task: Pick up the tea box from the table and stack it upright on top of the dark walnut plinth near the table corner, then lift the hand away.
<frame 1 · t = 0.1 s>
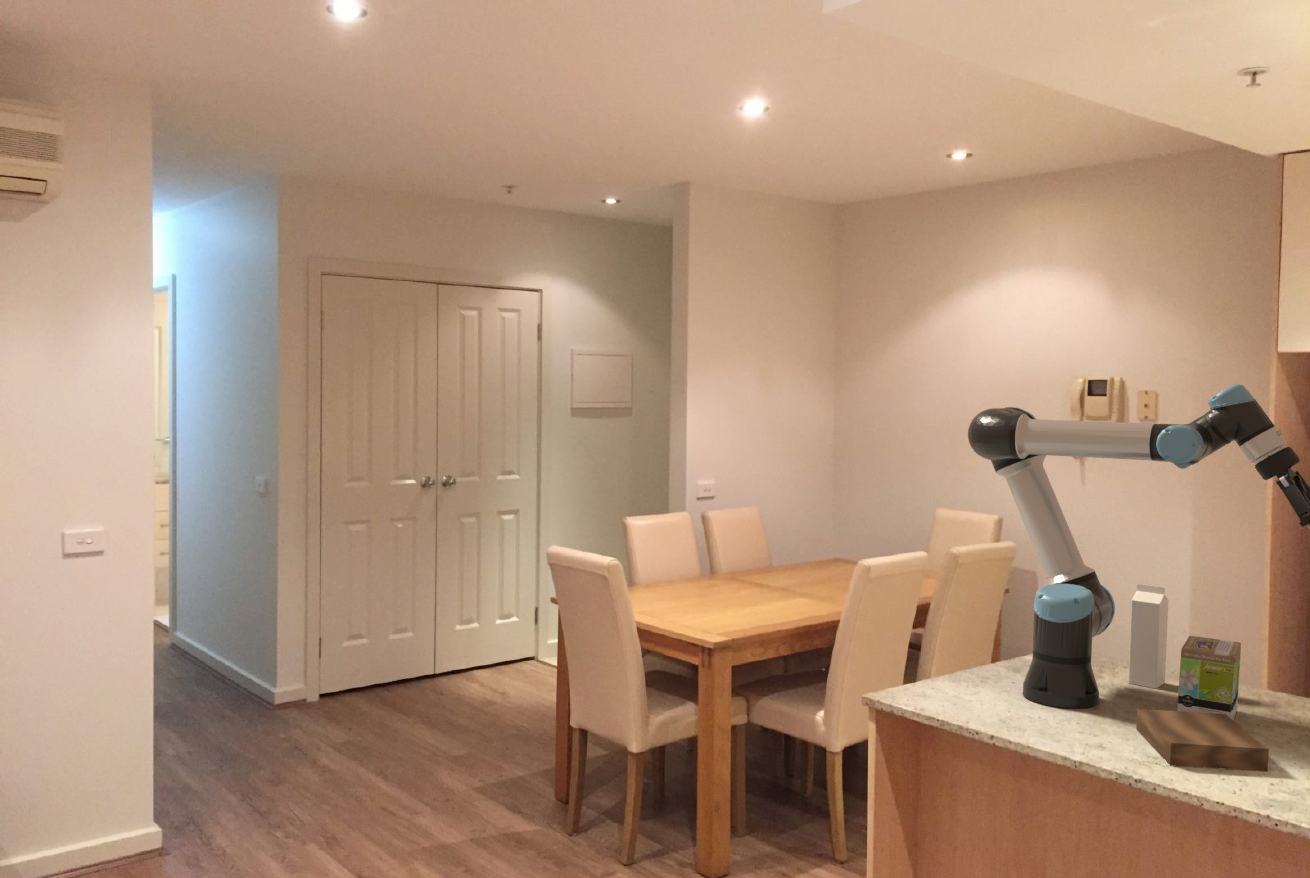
milk: (1146, 684, 242), on the countertop
walnut plinth: (1198, 749, 199), on the countertop
tea box: (1207, 717, 219), on the countertop
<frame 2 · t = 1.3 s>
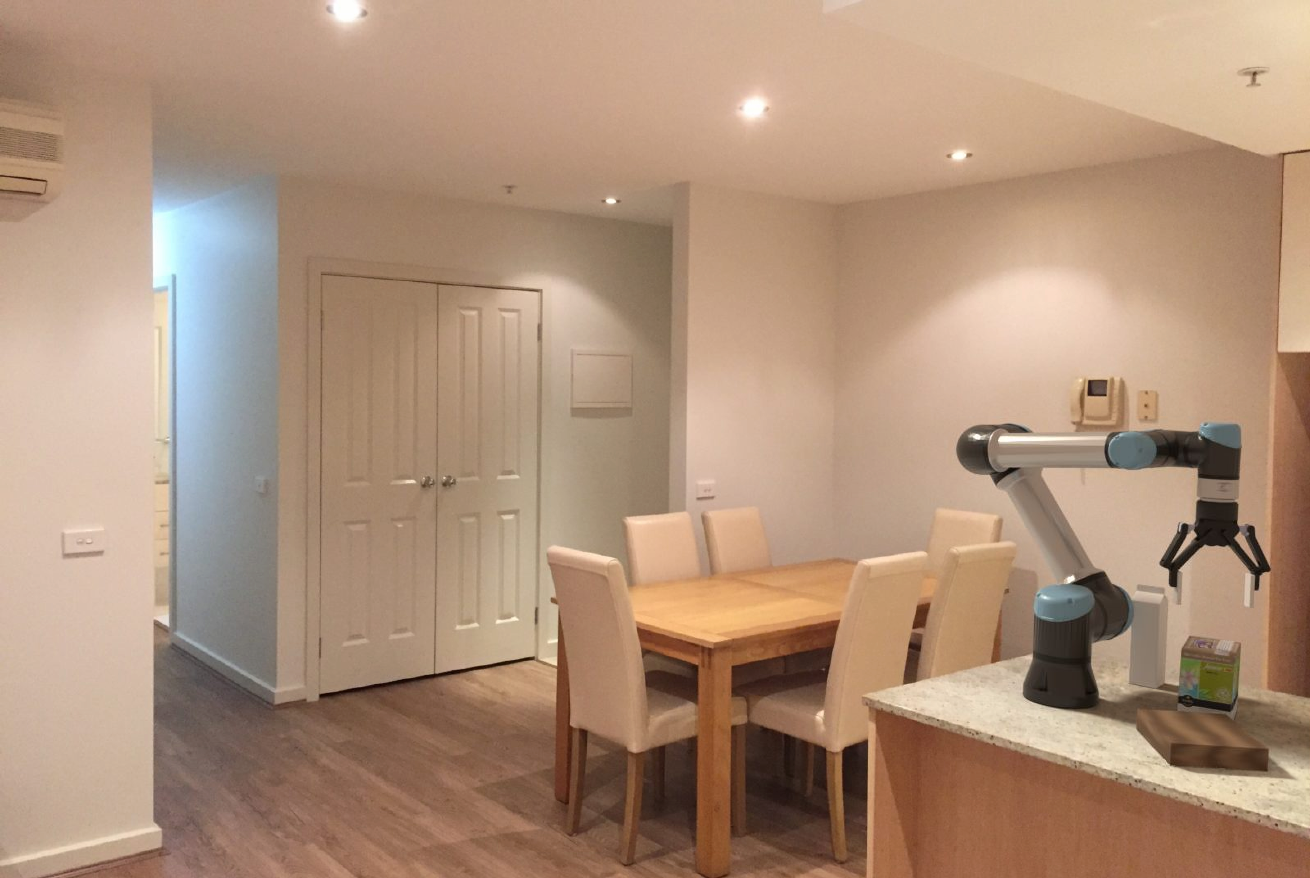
hand: (1212, 605, 218), 23 cm above the countertop, tool pointing down, fingers open, 13 cm apart
nothing on the countertop moved.
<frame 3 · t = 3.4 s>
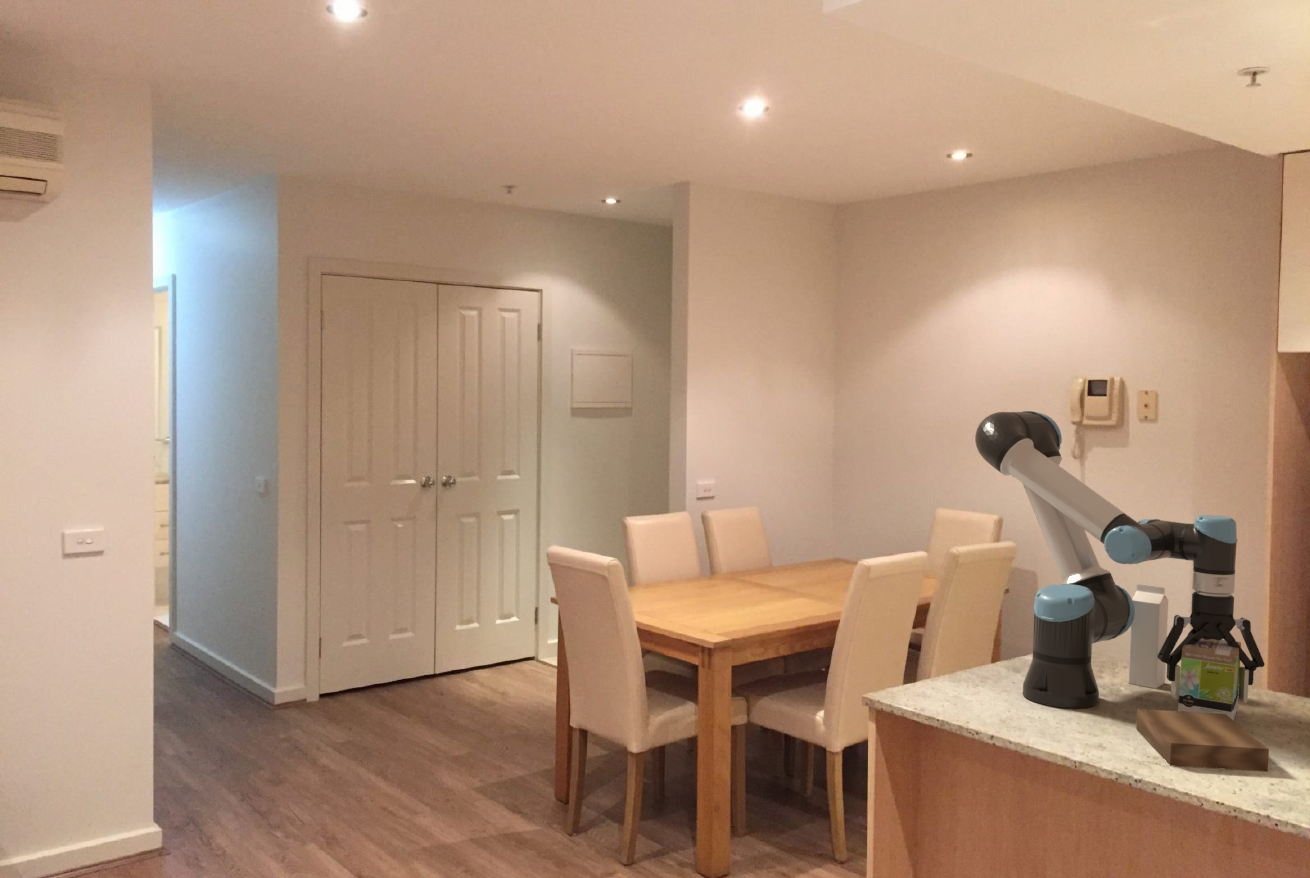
hand: (1208, 698, 219), 4 cm above the countertop, tool pointing down, fingers closed on tea box, 12 cm apart
tea box: (1207, 717, 219), on the countertop, touching gripper
everything else where it was.
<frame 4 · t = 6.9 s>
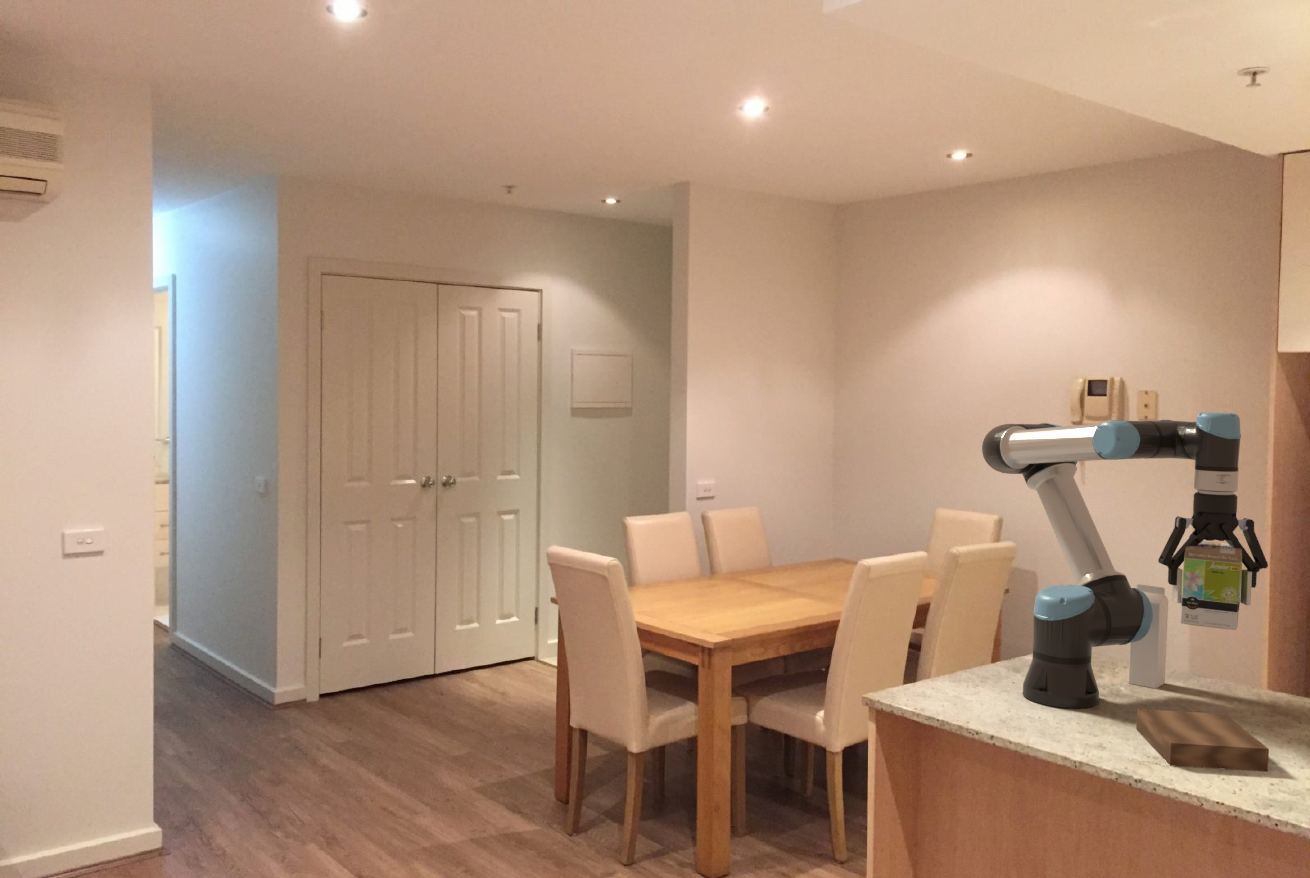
hand: (1210, 603, 211), 24 cm above the countertop, tool pointing down, fingers closed on tea box, 12 cm apart
tea box: (1210, 622, 211), point 21 cm above the countertop, touching gripper
everything else where it was.
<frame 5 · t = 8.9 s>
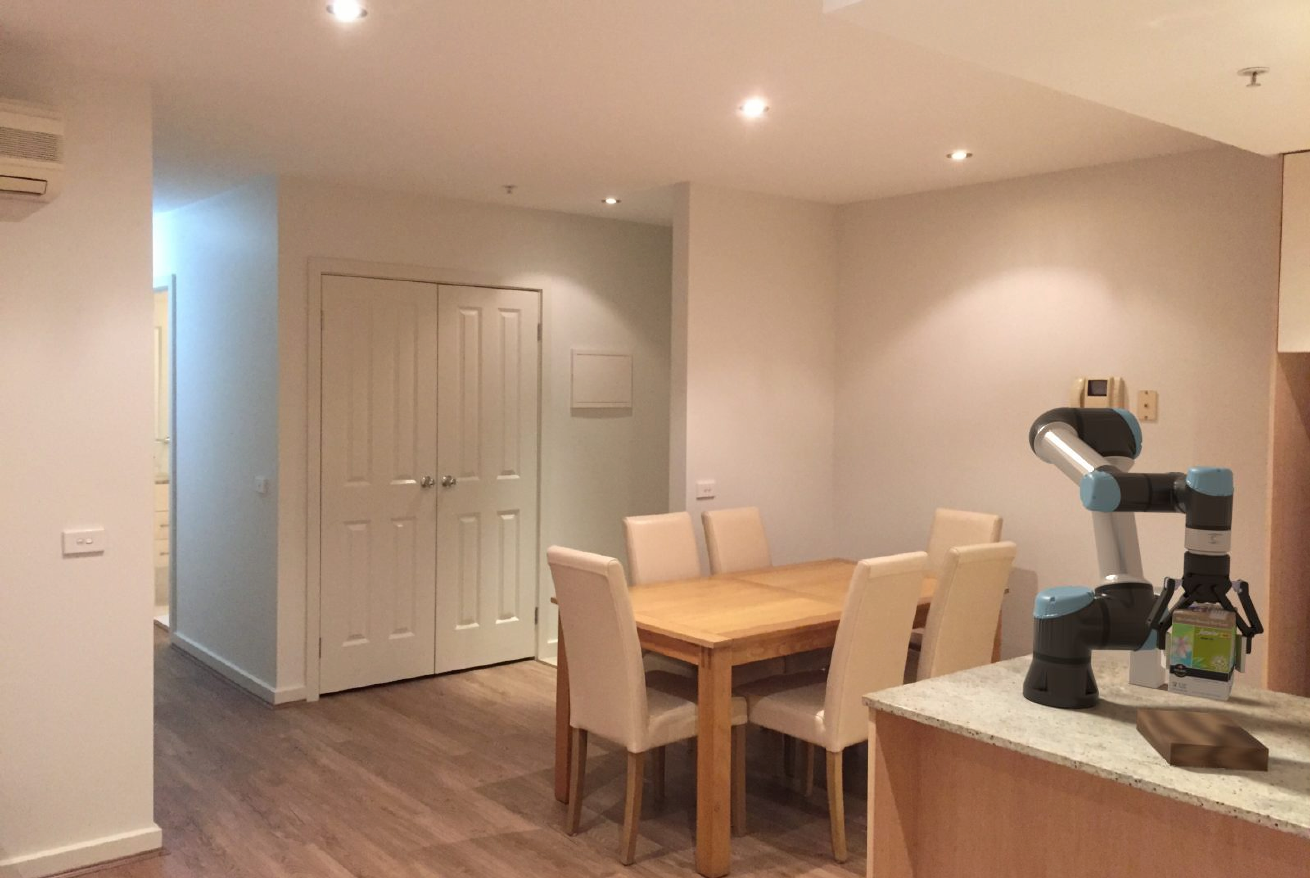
hand: (1202, 669, 198), 15 cm above the countertop, tool pointing down, fingers closed on tea box, 12 cm apart
tea box: (1201, 689, 198), point 11 cm above the countertop, touching gripper
everything else where it was.
when the fingers open (9 cm above the countertop, at t = 10.7 s): tea box drops 1 cm, resting on walnut plinth.
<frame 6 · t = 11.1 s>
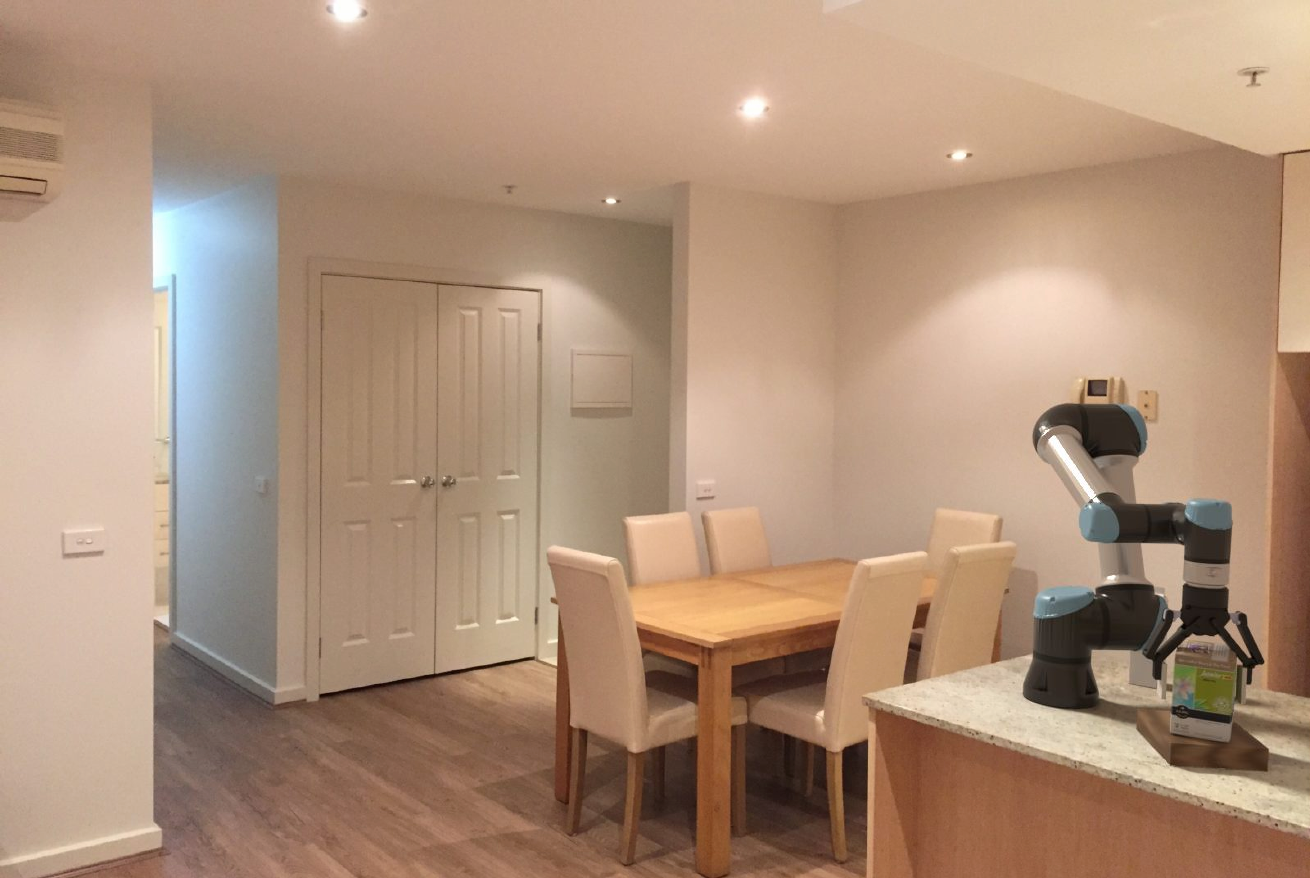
hand: (1200, 699, 198), 9 cm above the countertop, tool pointing down, fingers open, 13 cm apart
tea box: (1202, 729, 198), point 4 cm above the countertop, touching walnut plinth
everything else where it was.
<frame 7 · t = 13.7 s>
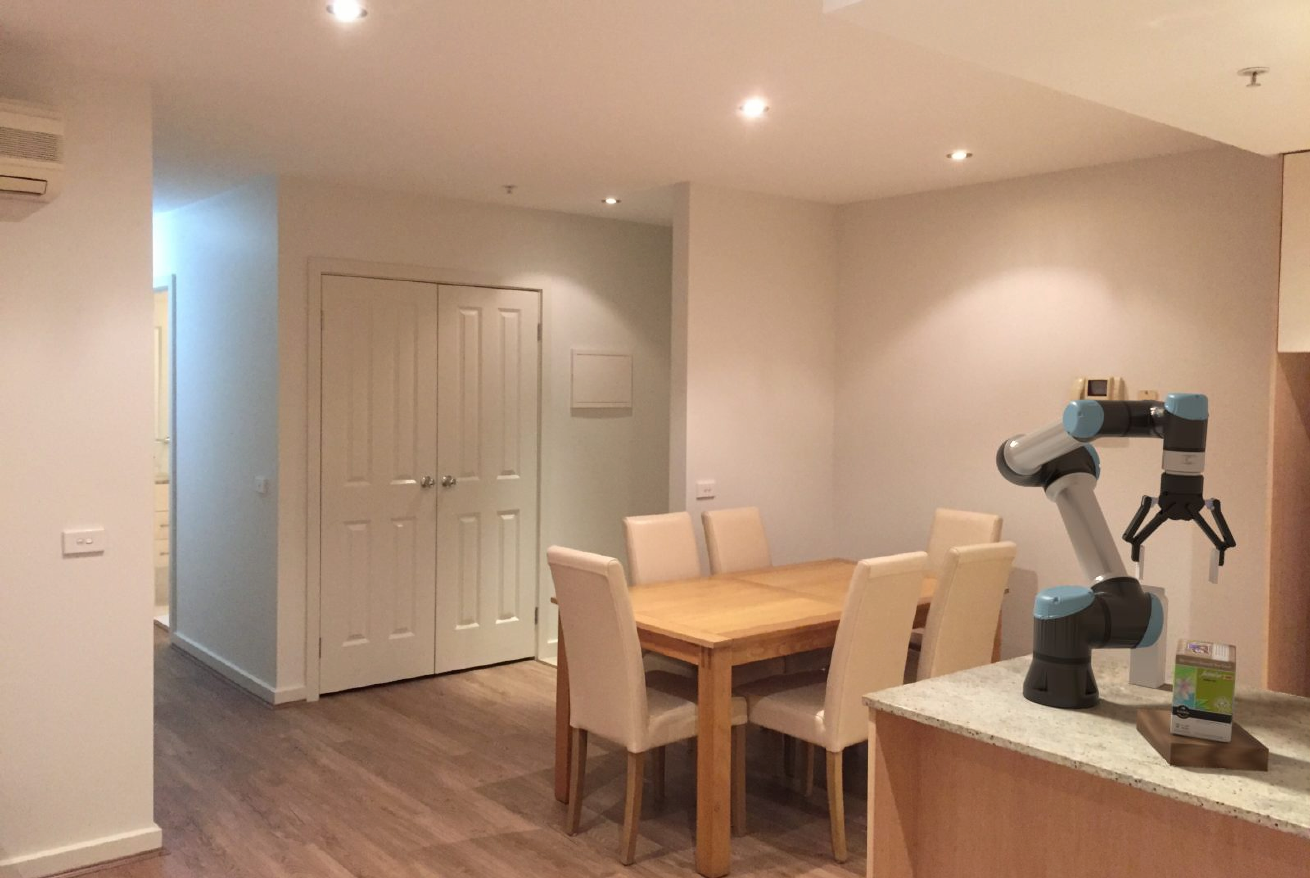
hand: (1175, 580, 212), 28 cm above the countertop, tool pointing down, fingers open, 13 cm apart
nothing on the countertop moved.
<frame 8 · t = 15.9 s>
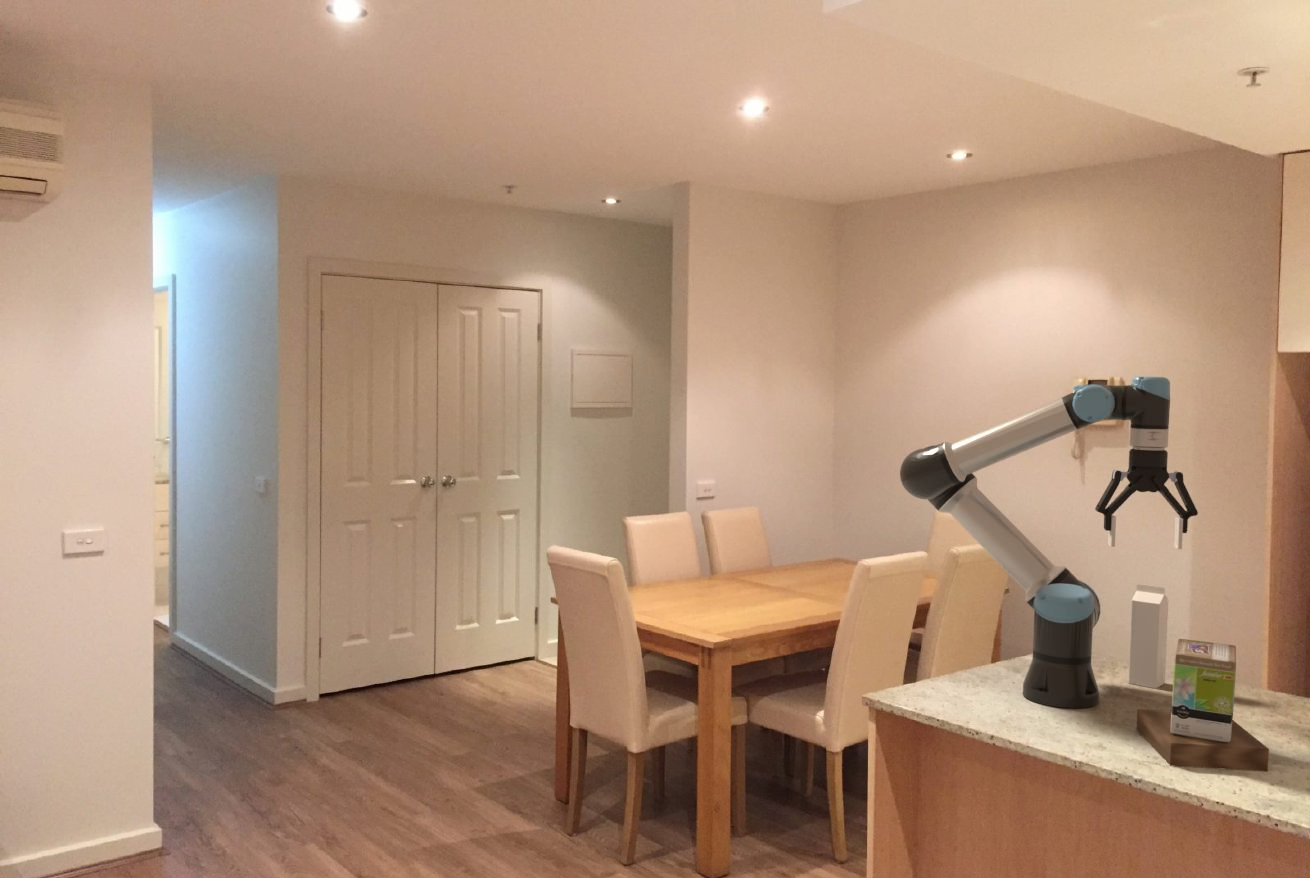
hand: (1144, 547, 233), 32 cm above the countertop, tool pointing down, fingers open, 13 cm apart
nothing on the countertop moved.
at the end: tea box inside the target area on the walnut plinth (0.4 cm from its centre), point 3.8 cm above the walnut plinth's base; tea box tilted 0°; the gripper is holding nothing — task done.
